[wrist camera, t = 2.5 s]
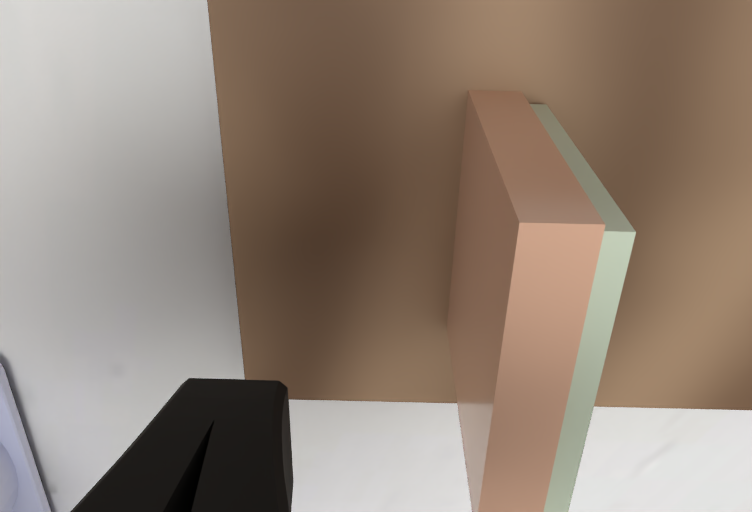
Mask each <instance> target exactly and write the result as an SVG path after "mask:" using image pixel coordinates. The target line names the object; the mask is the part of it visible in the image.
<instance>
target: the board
mask: <svg viewBox="0 0 752 512" xmlns="http://www.w3.org/2000/svg"><path fill="white" fill-rule="evenodd" d="M207 2H208V12H209V22H210V32H211V42H212V52H213V62H214V72H215V82H216V92H217V102H218V113H219V123H220V133H221V143H222V153H223V163H224V173H225V183H226V193H227V203H228V213H229V223H230V233H231V243H232V253H233V263H234V274H235V284H236V294H237V304H238V314H239V324H240V334H241V344H242V354H243V364H244V374H245V380H276V381H280V382H282V383H283V384H284V385H285V386H286V387H287V388H288V399H299V400H342V401H384V402H427V403H457V398H456V391H455V384H454V376H453V369H452V362H451V355H450V347H449V340H448V333H447V319H448V308H449V297H450V286H451V275H452V264H453V253H454V242H455V231H456V220H457V209H458V197H459V186H460V175H461V164H462V153H463V142H464V131H465V120H466V109H467V98H468V90H482V91H522V93H523V94H524V96H525V98H526V99H527V101H528V102H529V104H547V106H548V107H549V109H550V110H551V112H552V113H553V114H554V116H555V117H556V119H557V120H558V122H559V123H560V124H561V126H562V127H563V129H564V130H565V131H566V133H567V134H568V136H569V137H570V139H571V140H572V141H573V143H574V144H575V146H576V147H577V149H578V150H579V151H580V153H581V154H582V156H583V157H584V159H585V160H586V161H587V163H588V164H589V166H590V167H591V168H592V170H593V171H594V173H595V174H596V176H597V177H598V178H599V180H600V181H601V183H602V184H603V186H604V187H605V188H606V190H607V191H608V193H609V194H610V196H611V197H612V198H613V200H614V201H615V203H616V204H617V206H618V207H619V208H620V210H621V211H622V213H623V214H624V215H625V217H626V218H627V220H628V221H629V223H630V224H631V225H632V227H633V228H634V230H635V231H636V235H635V239H634V243H633V247H632V251H631V255H630V259H629V263H628V267H627V272H626V276H625V280H624V284H623V288H622V292H621V296H620V300H619V304H618V309H617V313H616V317H615V321H614V325H613V329H612V333H611V337H610V341H609V346H608V350H607V354H606V358H605V362H604V366H603V370H602V374H601V378H600V383H599V387H598V391H597V395H596V399H595V403H594V406H598V407H641V408H684V409H727V410H752V0H207Z"/></svg>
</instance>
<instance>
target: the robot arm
mask: <svg viewBox="0 0 752 512" xmlns="http://www.w3.org/2000/svg"><path fill="white" fill-rule="evenodd" d="M292 491H293V468H292V451H291V434H290V418H289V401H288V388H287V387H286V386H285V385H284V384H283V383H282V382H280V381H276V380H238V379H199V378H189V379H188V380H187V381H185V382H184V383H183V384H182V385H181V386H180V387H179V389H178V390H177V391H176V392H175V393H174V395H173V396H172V397H171V398H170V399H169V401H168V402H167V403H166V404H165V405H164V407H163V408H162V409H161V410H160V411H159V413H158V414H157V415H156V416H155V417H154V419H153V420H152V421H151V422H150V423H149V425H148V426H147V427H146V428H145V429H144V430H143V432H142V433H141V434H140V435H139V436H138V437H137V439H136V440H135V441H134V442H133V443H132V444H131V445H130V447H129V448H128V449H127V450H126V451H125V452H124V454H123V455H122V456H121V457H120V458H119V459H118V460H117V461H116V463H115V464H114V465H113V466H112V467H111V468H110V469H109V470H108V471H107V472H106V474H105V475H104V476H103V477H102V478H101V479H100V480H99V481H98V482H97V483H96V485H95V486H94V487H93V488H92V489H91V490H90V491H89V492H88V493H87V494H86V496H85V497H84V498H83V499H82V500H81V501H80V502H79V503H78V504H77V505H76V506H75V507H74V508H73V510H72V511H71V512H291V504H292ZM0 512H51V510H50V507H49V504H48V501H47V498H46V495H45V492H44V489H43V486H42V483H41V479H40V476H39V473H38V470H37V467H36V464H35V461H34V458H33V455H32V452H31V449H30V446H29V443H28V440H27V437H26V434H25V431H24V428H23V425H22V422H21V419H20V416H19V412H18V409H17V406H16V403H15V400H14V397H13V394H12V391H11V388H10V385H9V382H8V379H7V376H6V373H5V370H4V368H3V366H2V364H1V363H0Z"/></svg>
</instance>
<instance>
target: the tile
mask: <svg viewBox="0 0 752 512" xmlns="http://www.w3.org/2000/svg"><path fill="white" fill-rule="evenodd" d="M635 235H636V231H635V230H634V228H633V227H632V225H631V224H630V223H629V221H628V220H627V218H626V217H625V215H624V214H623V213H622V211H621V210H620V208H619V207H618V206H617V204H616V203H615V201H614V200H613V198H612V197H611V196H610V194H609V193H608V191H607V190H606V188H605V187H604V186H603V184H602V183H601V181H600V180H599V178H598V177H597V176H596V174H595V173H594V171H593V170H592V168H591V167H590V166H589V164H588V163H587V161H586V160H585V159H584V157H583V156H582V154H581V153H580V151H579V150H578V149H577V147H576V146H575V144H574V143H573V141H572V140H571V139H570V137H569V136H568V134H567V133H566V131H565V130H564V129H563V127H562V126H561V124H560V123H559V122H558V120H557V119H556V117H555V116H554V114H553V113H552V112H551V110H550V109H549V107H548V106H547V104H529V102H528V101H527V99H526V98H525V96H524V94H523V93H522V91H482V90H468V98H467V109H466V120H465V131H464V142H463V153H462V164H461V175H460V186H459V197H458V209H457V220H456V231H455V242H454V253H453V264H452V275H451V286H450V297H449V308H448V319H447V333H448V340H449V347H450V355H451V362H452V369H453V376H454V384H455V391H456V398H457V405H458V413H459V420H460V427H461V435H462V442H463V449H464V456H465V464H466V471H467V478H468V485H469V493H470V500H471V507H472V512H568V510H569V506H570V502H571V498H572V494H573V489H574V485H575V481H576V477H577V473H578V469H579V465H580V461H581V457H582V452H583V448H584V444H585V440H586V436H587V432H588V428H589V424H590V420H591V415H592V411H593V407H594V403H595V399H596V395H597V391H598V387H599V383H600V378H601V374H602V370H603V366H604V362H605V358H606V354H607V350H608V346H609V341H610V337H611V333H612V329H613V325H614V321H615V317H616V313H617V309H618V304H619V300H620V296H621V292H622V288H623V284H624V280H625V276H626V272H627V267H628V263H629V259H630V255H631V251H632V247H633V243H634V239H635Z"/></svg>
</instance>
